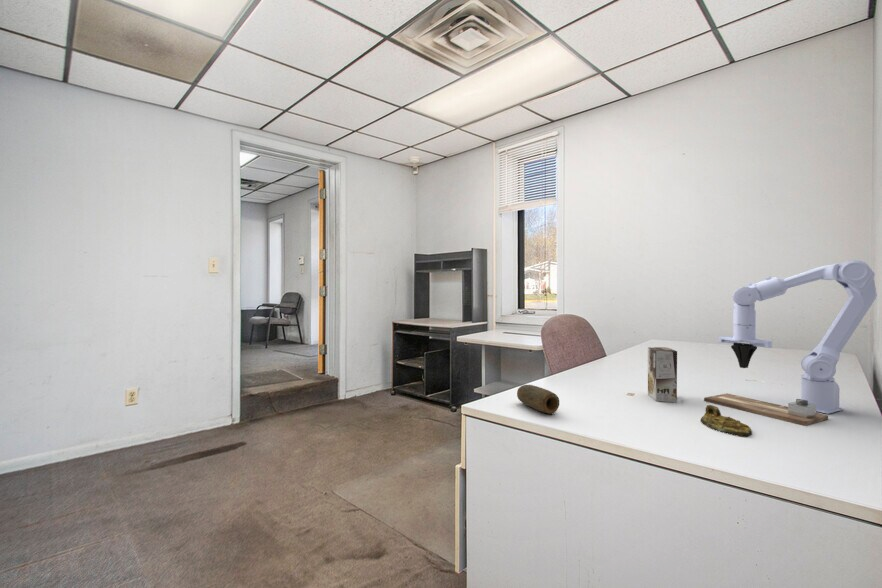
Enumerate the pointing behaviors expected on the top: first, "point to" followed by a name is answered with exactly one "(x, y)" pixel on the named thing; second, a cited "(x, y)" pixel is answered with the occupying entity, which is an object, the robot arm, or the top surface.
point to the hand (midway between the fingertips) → (743, 367)
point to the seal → (724, 422)
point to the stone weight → (538, 398)
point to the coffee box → (662, 374)
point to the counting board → (763, 408)
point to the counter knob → (802, 408)
